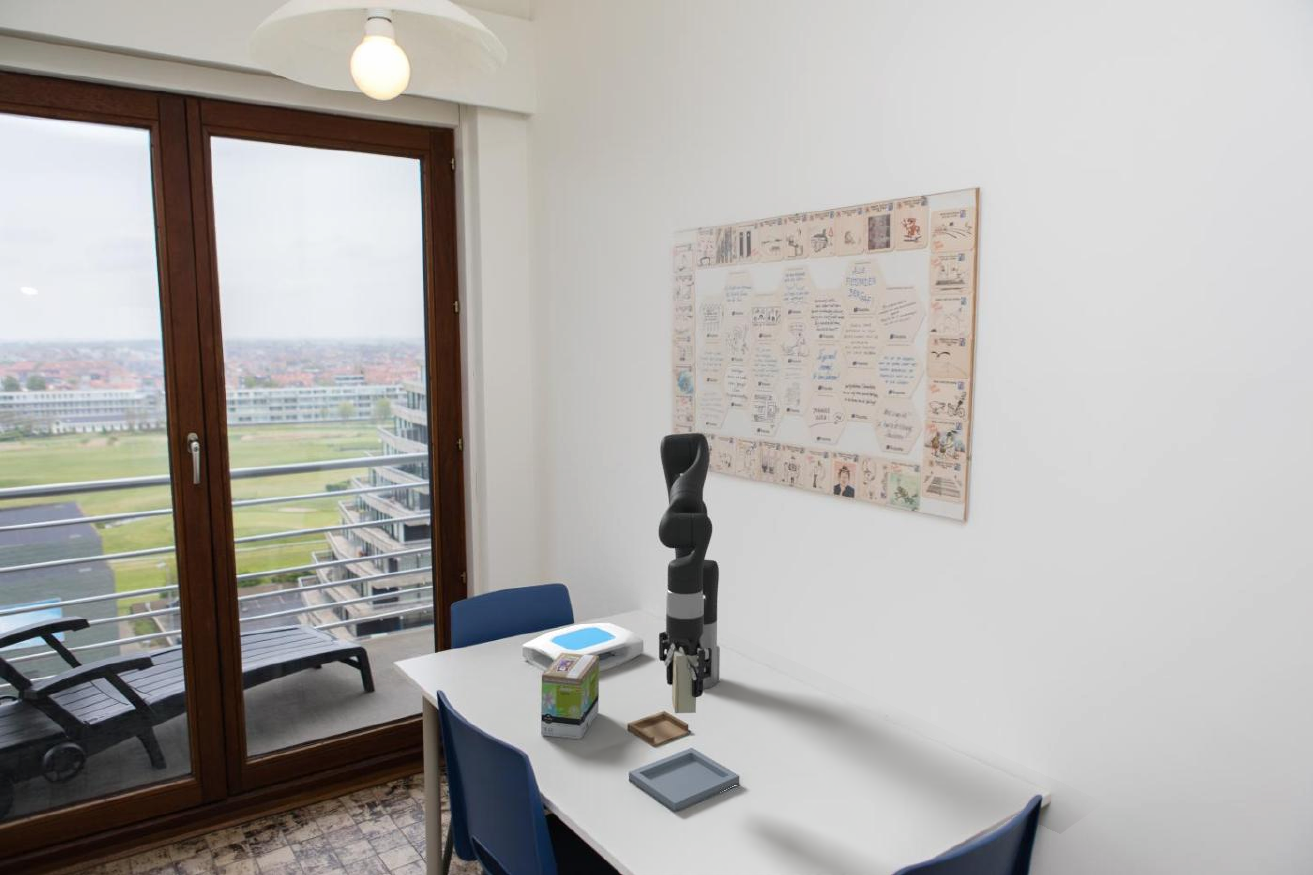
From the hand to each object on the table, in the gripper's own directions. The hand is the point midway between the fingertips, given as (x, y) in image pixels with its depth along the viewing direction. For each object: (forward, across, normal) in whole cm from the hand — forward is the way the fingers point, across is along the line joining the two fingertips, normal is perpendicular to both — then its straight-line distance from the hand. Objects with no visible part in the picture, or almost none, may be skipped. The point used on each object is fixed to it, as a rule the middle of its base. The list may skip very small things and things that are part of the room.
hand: (684, 689), depth 172 cm
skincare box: (+4, 0, 0) cm, 4 cm away
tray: (+20, 0, 0) cm, 20 cm away
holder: (+20, +21, -10) cm, 31 cm away
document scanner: (+20, +70, -21) cm, 76 cm away
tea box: (+20, +37, +4) cm, 42 cm away
